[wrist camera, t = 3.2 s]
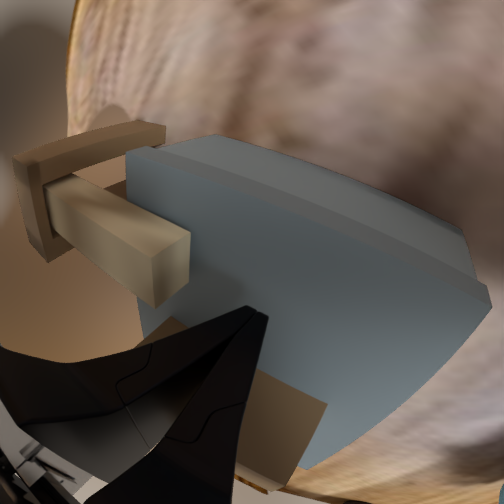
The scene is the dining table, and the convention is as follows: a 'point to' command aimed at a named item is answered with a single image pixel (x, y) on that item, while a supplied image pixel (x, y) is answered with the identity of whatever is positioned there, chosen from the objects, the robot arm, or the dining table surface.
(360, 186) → the toolbox
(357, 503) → the bottle
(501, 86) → the dining table surface
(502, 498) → the decorative pot
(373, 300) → the lid
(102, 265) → the wooden key
